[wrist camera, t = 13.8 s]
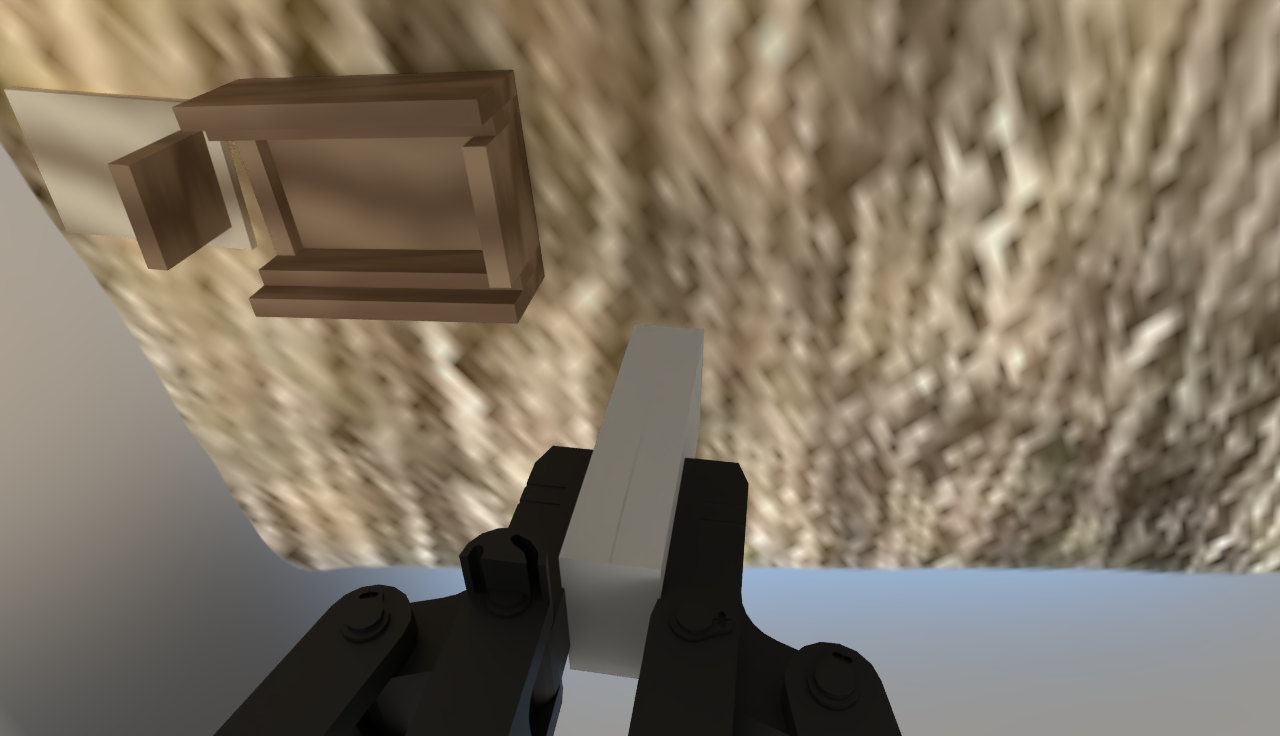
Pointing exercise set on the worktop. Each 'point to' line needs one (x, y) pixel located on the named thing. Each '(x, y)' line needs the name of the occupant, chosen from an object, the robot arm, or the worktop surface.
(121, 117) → the cover plate
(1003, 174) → the worktop surface
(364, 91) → the walnut box
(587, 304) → the worktop surface
